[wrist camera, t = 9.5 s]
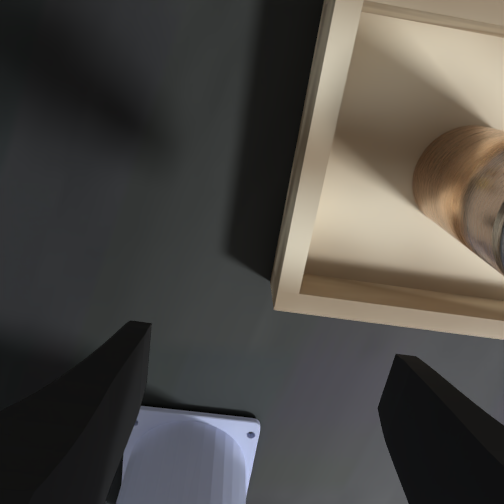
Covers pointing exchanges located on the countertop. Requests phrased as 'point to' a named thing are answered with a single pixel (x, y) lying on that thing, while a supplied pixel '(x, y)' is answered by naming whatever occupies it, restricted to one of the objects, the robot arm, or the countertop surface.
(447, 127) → the tray
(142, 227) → the countertop surface
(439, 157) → the can
